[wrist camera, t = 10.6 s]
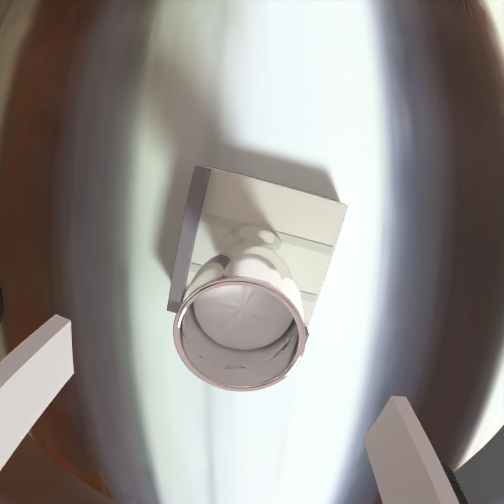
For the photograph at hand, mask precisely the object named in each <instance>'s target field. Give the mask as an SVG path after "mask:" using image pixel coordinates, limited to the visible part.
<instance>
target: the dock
mask: <svg viewBox="0 0 504 504" xmlns="http://www.w3.org/2000/svg"><path fill="white" fill-rule="evenodd" d="M347 207H348V206H347V205H345V204H343V203H341V202H338V201H335V200H331V199H328V198H325V197H321V196H318V195H315V194H311V193H308V192H304V191H301V190H297V189H294V188H290V187H287V186H283V185H279V184H275V183H272V182H268V181H264V180H260V179H256V178H253V177H249V176H245V175H241V174H237V173H233V172H228V171H224V170H220V169H216V168H211V167H207V166H195V170H194V174H193V178H192V182H191V187H190V191H189V196H188V200H187V205H186V209H185V214H184V219H183V223H182V228H181V233H180V238H179V243H178V249H177V254H176V259H175V264H174V270H173V276H172V281H171V287H170V293H169V299H168V305H167V311H171V312H174V313H177V311H178V309H179V308H180V306H181V304H182V301H183V298H184V296H185V294H186V291H187V289H188V287H189V285H190V283H191V281H192V279H193V278H194V276H195V274H196V273H197V272H198V270H199V269H200V268H201V266H202V265H203V264H204V263H205V262H206V261H207V260H208V259H209V258H210V257H211V256H213V255H214V254H215V253H217V252H218V251H220V248H221V245H222V243H223V241H224V239H225V238H226V237H227V236H228V235H229V234H230V233H231V232H232V231H234V230H235V229H237V228H239V227H242V226H247V225H257V226H261V227H264V228H267V229H268V230H270V231H272V232H273V233H274V234H275V235H276V236H277V237H278V238H279V240H280V241H281V243H282V245H283V247H284V251H285V262H286V263H287V264H288V266H289V267H290V269H291V270H292V272H293V274H294V276H295V278H296V280H297V283H298V286H299V289H300V292H301V297H302V303H303V311H304V326H305V332H306V341H307V338H308V336H309V334H308V330H307V327H308V324H309V321H310V319H311V316H312V313H313V310H314V308H315V305H316V302H317V299H318V297H319V294H320V291H321V288H322V285H323V282H324V279H325V276H326V273H327V270H328V268H329V265H330V261H331V258H332V255H333V252H334V249H335V246H336V243H337V240H338V237H339V233H340V230H341V227H342V224H343V220H344V217H345V214H346V210H347ZM305 344H306V342H305Z"/></svg>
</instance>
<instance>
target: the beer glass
mask: <svg viewBox="0 0 504 504" xmlns="http://www.w3.org/2000/svg"><path fill="white" fill-rule="evenodd" d="M173 337H174V343H175V347H176V349H177V352H178V354H179V356H180V358H181V360H182V361H183V362H184V364H185V365H186V366H187V368H188V369H189V370H190V371H191V372H192V373H194V374H195V375H196V376H197V377H199V378H200V379H201V380H203V381H205V382H207V383H208V384H211V385H213V386H215V387H218V388H221V389H225V390H230V391H240V392H245V391H255V390H260V389H264V388H267V387H270V386H272V385H274V384H276V383H278V382H280V381H281V380H283V379H284V378H285V377H287V376H288V375H289V374H290V373H291V372H292V371H293V370H294V369H295V367H296V366H297V364H298V363H299V361H300V359H301V357H302V355H303V352H304V348H305V342H306V332H305V326H304V311H303V303H302V297H301V292H300V289H299V286H298V283H297V280H296V278H295V276H294V274H293V272H292V270H291V269H290V267H289V266H288V264H287V263H286V262H285V251H284V247H283V245H282V243H281V241H280V240H279V238H278V237H277V236H276V235H275V234H274V233H273V232H272V231H270V230H268V229H267V228H264V227H261V226H257V225H247V226H242V227H239V228H237V229H235V230H234V231H232V232H231V233H230V234H229V235H228V236H227V237H226V238H225V239H224V241H223V243H222V245H221V248H220V251H218V252H217V253H215V254H214V255H213V256H211V257H210V258H209V259H208V260H207V261H206V262H205V263H204V264H203V265H202V266H201V268H200V269H199V270H198V272H197V273H196V274H195V276H194V278H193V279H192V281H191V283H190V285H189V287H188V289H187V291H186V294H185V296H184V298H183V301H182V304H181V306H180V308H179V309H178V311H177V314H176V317H175V320H174V326H173Z"/></svg>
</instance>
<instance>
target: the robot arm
mask: <svg viewBox="0 0 504 504" xmlns="http://www.w3.org/2000/svg"><path fill="white" fill-rule="evenodd" d="M2 315H3V300H2V294H1V290H0V322H1V319H2ZM73 373H74V369H73V357H72V340H71V320H68V319H66V318H64V317H61V316H59V315H56V314H55V315H54V316H53V317H52V318H51V319H49V320H48V321H47V322H46V323H44V324H43V325H42V326H41V327H40V328H38V329H37V330H36V331H35V332H34V333H33V334H31V335H30V336H29V337H28V338H27V339H25V340H24V341H23V342H22V343H21V344H20V345H19V346H17V347H16V348H15V349H14V350H13V351H12V352H11V353H9V354H8V355H7V356H6V357H5V358H4V359H3V360H2V361H0V470H1V469H2V467H3V466H4V464H5V463H6V462H7V460H8V459H9V457H10V456H11V454H12V453H13V452H14V450H15V449H16V448H17V446H18V445H19V443H20V442H21V440H22V439H23V438H24V437H25V435H26V434H27V433H28V431H29V430H30V429H31V427H32V426H33V425H34V423H35V422H36V421H37V419H38V418H39V417H40V415H41V414H42V413H43V411H44V410H45V409H46V407H47V406H48V405H49V404H50V402H51V401H52V400H53V398H54V397H55V396H56V395H57V393H58V392H59V391H60V390H61V388H62V387H63V386H64V385H65V383H66V382H67V381H68V380H69V378H70V377H71V376H72V375H73ZM363 440H364V443H365V446H366V450H367V453H368V456H369V459H370V462H371V466H372V469H373V472H374V475H375V479H376V482H377V485H378V489H379V492H380V496H381V499H382V503H383V504H468V502H467V500H466V498H465V496H464V494H463V492H462V490H460V489H461V488H460V486H459V484H458V483H457V480H456V477H455V476H454V474H453V471H452V470H451V469H450V468H449V467H448V466H447V465H446V464H445V463H440V461H439V459H438V457H437V455H436V453H435V451H434V449H433V447H432V445H431V443H430V442H429V440H428V438H427V436H426V434H425V432H424V430H423V428H422V426H421V424H420V422H419V420H418V419H417V417H416V415H415V413H414V411H413V409H412V407H411V406H410V404H409V402H408V400H407V398H406V397H399V396H391V398H390V399H389V401H388V403H387V404H386V406H385V407H384V409H383V411H382V412H381V414H380V415H379V417H378V418H377V420H376V421H375V423H374V424H373V426H372V427H371V429H370V430H369V432H368V433H367V434H366V436H365V437H364V439H363Z"/></svg>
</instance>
